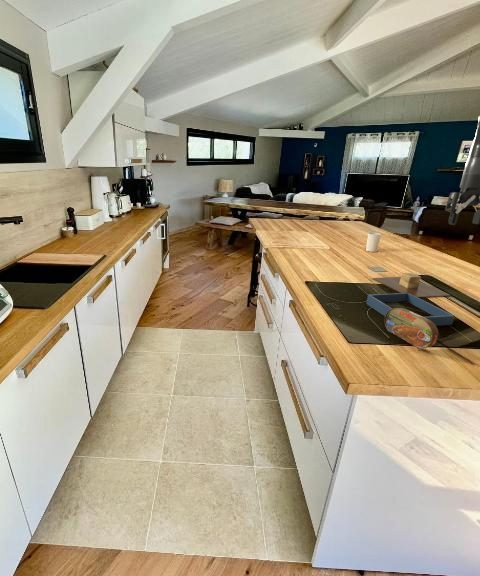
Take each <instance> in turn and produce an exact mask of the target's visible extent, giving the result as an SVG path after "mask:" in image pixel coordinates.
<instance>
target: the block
mask: <svg viewBox="0 0 480 576" xmlns="http://www.w3.org/2000/svg"><path fill="white" fill-rule="evenodd" d="M400 277H401V279H400V283H399V284H400V285H402V286H404V287H406V288H418V287H419V283H420V282H421V279H422V276H420V275H418V274H416V273H413V272H406V273H403V272H402V273H401V275H400Z"/></svg>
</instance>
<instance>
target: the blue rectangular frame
mask: <svg viewBox="0 0 480 576" xmlns="http://www.w3.org/2000/svg"><path fill="white" fill-rule="evenodd" d="M393 302H394V303H395V302H407V303H409V304H411V305H413V306H415V307H417V308H418V309H420V310H422V311H423V312H426V313H427V314H429V315H430V316H429V315H428V316H423V317H424V318H427V319H429V320H431V321H432V322H433V323H434V324H435V325H436V327H438V326H452V325H453V324H454V323H453V322H454V320H455V315H454V314H453V313H450V312H448V311H446V310H444V309H442V308H440V307H438V306H436V305H434V304H432V303H430V302H427V301H426V300H424V299H423V298H418V297H416V296H414V295H412V294H410V293H398V292H395V293H394V292H393V293H378V294H377V293H376V294H375V293H374V294H367V298H366V303H365V304H366V305H367V306H368V307H370V308H372V309H373V310H375V311H376V312H378V313H379V314H381V315H382V316H384V317H385V315H386V313H387V312H388V311H389V310H390V309H393V308H392V307H391V306H389V305H387V304H386V303H393Z"/></svg>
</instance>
